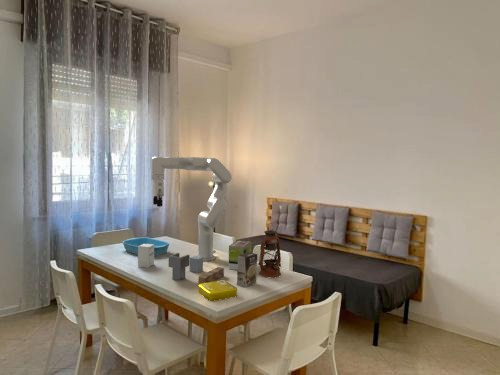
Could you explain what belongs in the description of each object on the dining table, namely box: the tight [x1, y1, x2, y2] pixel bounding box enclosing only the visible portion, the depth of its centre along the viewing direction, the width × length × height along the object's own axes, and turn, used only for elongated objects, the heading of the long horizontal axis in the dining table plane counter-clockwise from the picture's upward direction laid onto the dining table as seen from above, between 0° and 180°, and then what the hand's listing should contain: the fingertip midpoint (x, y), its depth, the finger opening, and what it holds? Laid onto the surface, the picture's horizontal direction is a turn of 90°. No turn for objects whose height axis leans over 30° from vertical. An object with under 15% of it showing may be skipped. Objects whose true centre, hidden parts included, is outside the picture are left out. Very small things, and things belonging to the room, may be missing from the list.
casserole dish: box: [122, 236, 170, 257], centre depth 257 cm, size 37×22×7 cm, turn 50°
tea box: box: [228, 240, 252, 271], centre depth 227 cm, size 15×10×15 cm
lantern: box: [257, 222, 282, 279], centre depth 213 cm, size 17×13×30 cm
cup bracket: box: [168, 252, 191, 281], centre depth 201 cm, size 8×8×13 cm
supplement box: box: [137, 244, 155, 268], centre depth 224 cm, size 7×7×13 cm
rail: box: [197, 266, 225, 287], centre depth 200 cm, size 20×4×5 cm, turn 155°
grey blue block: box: [189, 255, 204, 274], centre depth 216 cm, size 5×6×8 cm
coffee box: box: [236, 252, 258, 288], centre depth 196 cm, size 9×6×16 cm
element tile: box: [198, 279, 238, 302], centre depth 181 cm, size 15×15×5 cm
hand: (157, 205), depth 224 cm, fingers open, 9 cm apart
